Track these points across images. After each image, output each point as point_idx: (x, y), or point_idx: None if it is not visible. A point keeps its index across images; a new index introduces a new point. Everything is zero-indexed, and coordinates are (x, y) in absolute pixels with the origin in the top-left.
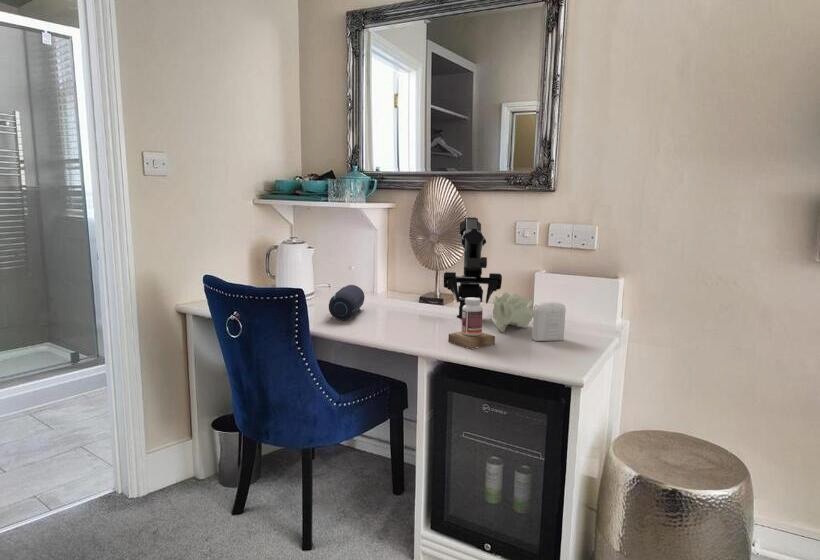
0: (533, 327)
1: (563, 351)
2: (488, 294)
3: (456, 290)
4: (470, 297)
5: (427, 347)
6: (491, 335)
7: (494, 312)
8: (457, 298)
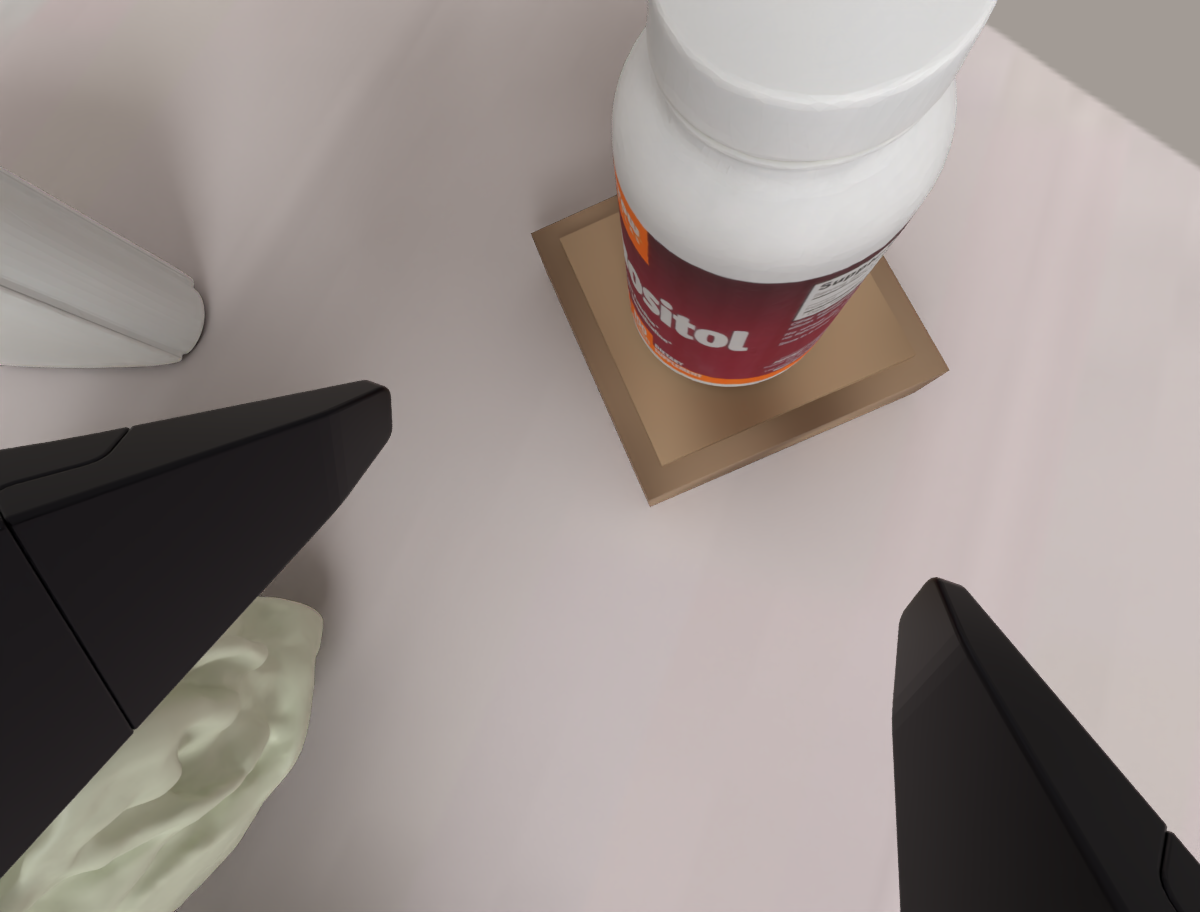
0: (112, 277)
1: (178, 49)
2: (225, 424)
3: (1108, 830)
4: (829, 83)
5: (1148, 255)
6: (550, 259)
7: (237, 705)
8: (969, 614)
